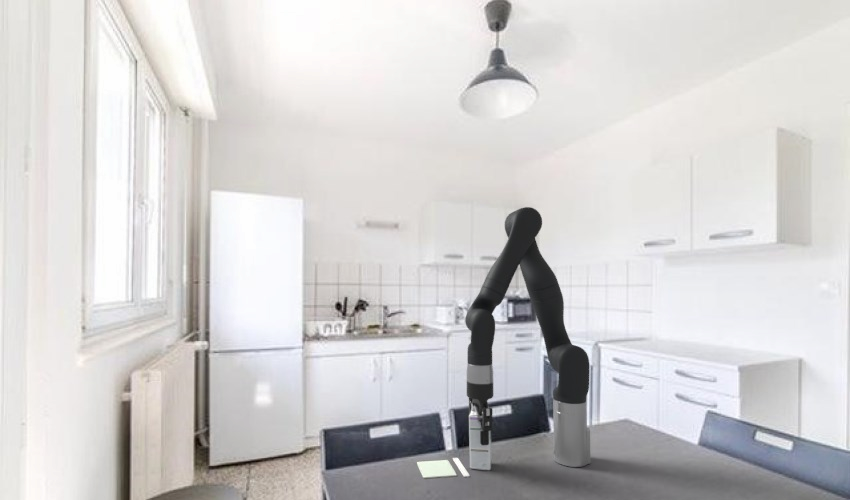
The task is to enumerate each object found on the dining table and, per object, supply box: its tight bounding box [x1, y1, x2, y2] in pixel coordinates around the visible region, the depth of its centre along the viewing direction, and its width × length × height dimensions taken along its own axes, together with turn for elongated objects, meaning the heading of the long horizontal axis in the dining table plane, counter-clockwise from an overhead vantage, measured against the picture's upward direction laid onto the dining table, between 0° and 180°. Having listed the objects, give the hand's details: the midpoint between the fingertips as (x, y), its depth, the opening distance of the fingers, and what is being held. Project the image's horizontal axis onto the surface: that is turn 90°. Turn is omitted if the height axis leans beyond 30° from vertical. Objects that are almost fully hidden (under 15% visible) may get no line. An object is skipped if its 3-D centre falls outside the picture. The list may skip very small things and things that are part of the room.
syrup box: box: [468, 411, 493, 471], centre depth 122 cm, size 6×6×14 cm
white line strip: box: [452, 457, 470, 478], centre depth 121 cm, size 2×12×1 cm, turn 11°
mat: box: [416, 459, 457, 479], centre depth 119 cm, size 9×10×1 cm
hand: (480, 439), depth 122 cm, fingers closed on syrup box, 7 cm apart
